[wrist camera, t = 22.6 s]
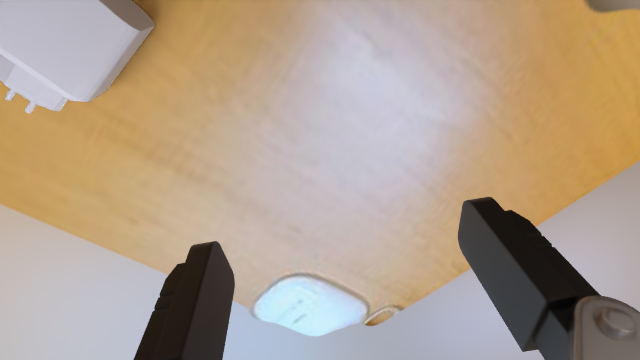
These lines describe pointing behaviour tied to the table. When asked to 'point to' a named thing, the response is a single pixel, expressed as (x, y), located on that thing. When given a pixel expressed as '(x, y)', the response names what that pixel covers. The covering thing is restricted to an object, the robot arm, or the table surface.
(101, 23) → the charger
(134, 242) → the table surface
